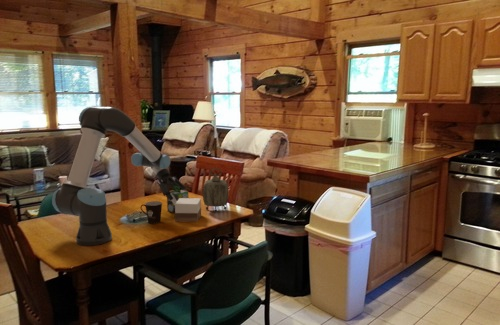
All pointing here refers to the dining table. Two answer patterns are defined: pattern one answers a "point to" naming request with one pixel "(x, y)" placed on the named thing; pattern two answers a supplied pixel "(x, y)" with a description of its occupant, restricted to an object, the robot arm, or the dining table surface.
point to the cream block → (188, 205)
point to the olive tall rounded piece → (215, 192)
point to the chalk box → (176, 197)
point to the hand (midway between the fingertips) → (182, 201)
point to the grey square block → (188, 216)
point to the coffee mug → (153, 211)
